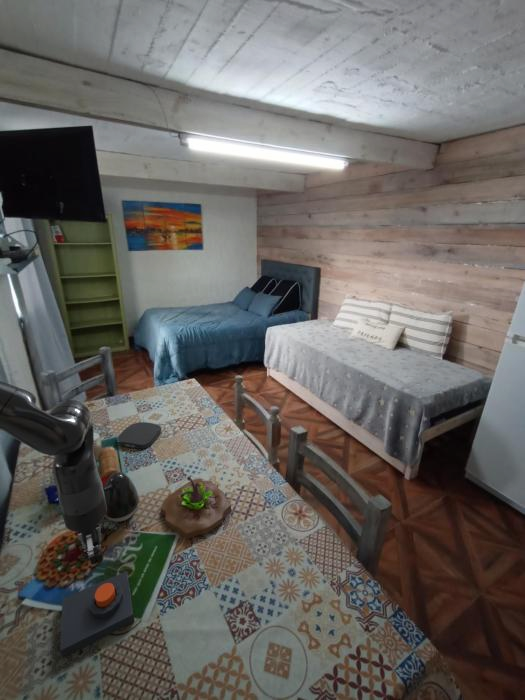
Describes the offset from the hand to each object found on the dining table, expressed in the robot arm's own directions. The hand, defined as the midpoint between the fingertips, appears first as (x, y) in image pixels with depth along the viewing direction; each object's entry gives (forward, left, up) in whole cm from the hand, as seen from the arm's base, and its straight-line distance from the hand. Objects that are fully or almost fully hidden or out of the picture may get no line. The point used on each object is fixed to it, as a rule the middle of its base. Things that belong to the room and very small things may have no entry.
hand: (97, 560), depth 68 cm
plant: (+27, +18, -17) cm, 36 cm away
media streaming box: (+17, +65, -17) cm, 69 cm away
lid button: (0, 0, -12) cm, 12 cm away
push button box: (-2, 0, -16) cm, 17 cm away
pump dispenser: (+6, +27, -17) cm, 32 cm away
